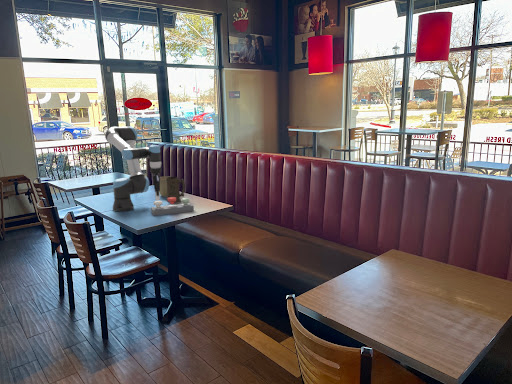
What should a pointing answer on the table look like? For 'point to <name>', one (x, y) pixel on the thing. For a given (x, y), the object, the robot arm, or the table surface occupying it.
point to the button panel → (172, 209)
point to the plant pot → (163, 186)
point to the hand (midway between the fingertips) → (157, 199)
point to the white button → (158, 203)
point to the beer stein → (174, 188)
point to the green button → (185, 200)
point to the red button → (171, 200)
